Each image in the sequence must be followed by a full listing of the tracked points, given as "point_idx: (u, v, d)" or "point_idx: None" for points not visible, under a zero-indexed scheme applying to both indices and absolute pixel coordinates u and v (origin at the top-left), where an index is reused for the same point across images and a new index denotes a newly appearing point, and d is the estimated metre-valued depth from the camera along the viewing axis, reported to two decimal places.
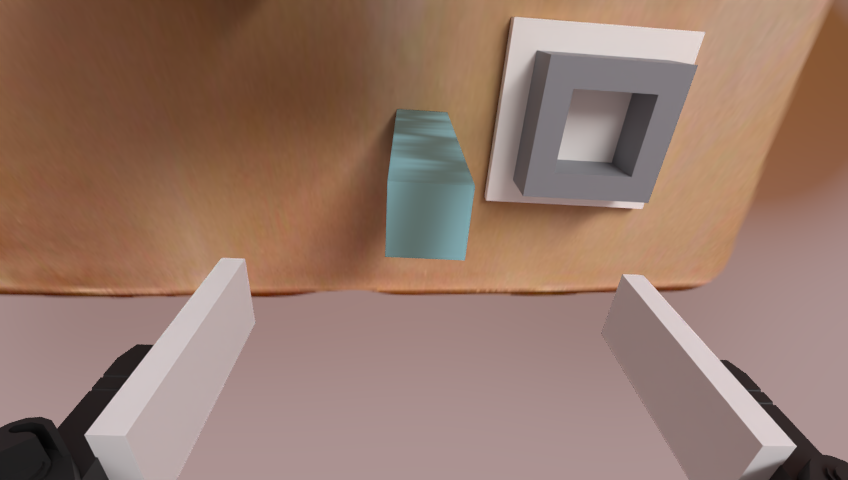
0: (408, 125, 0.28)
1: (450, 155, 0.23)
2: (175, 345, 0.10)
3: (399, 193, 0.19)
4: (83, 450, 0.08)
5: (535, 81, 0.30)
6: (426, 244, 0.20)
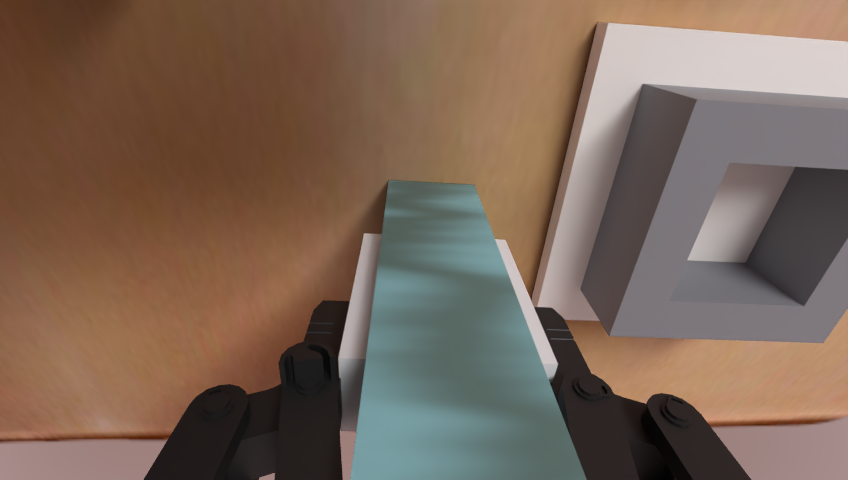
0: (408, 233, 0.15)
1: (513, 372, 0.09)
2: (367, 298, 0.12)
3: None
4: None
5: (641, 140, 0.16)
6: None
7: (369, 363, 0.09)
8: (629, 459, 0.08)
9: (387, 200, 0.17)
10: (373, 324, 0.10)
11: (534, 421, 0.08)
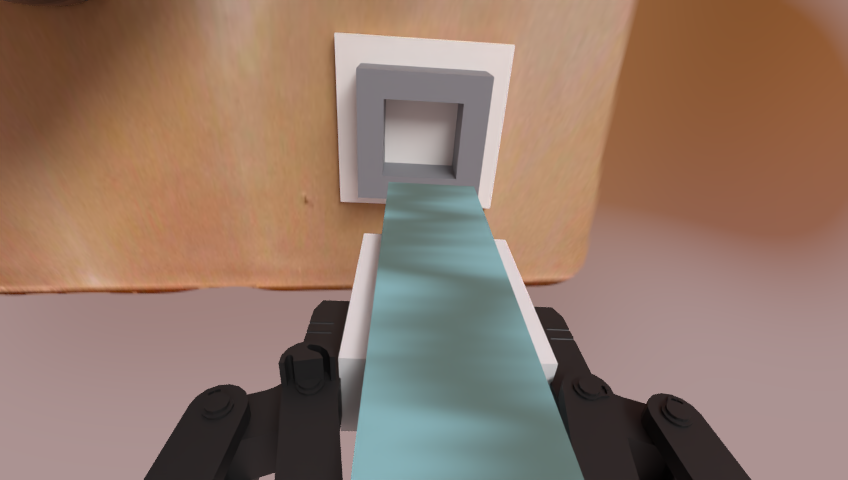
0: (408, 235, 0.15)
1: (513, 375, 0.09)
2: (367, 298, 0.12)
3: None
4: None
5: None
6: None
7: (369, 366, 0.09)
8: (629, 459, 0.08)
9: (387, 202, 0.17)
10: (373, 327, 0.10)
11: (533, 425, 0.08)
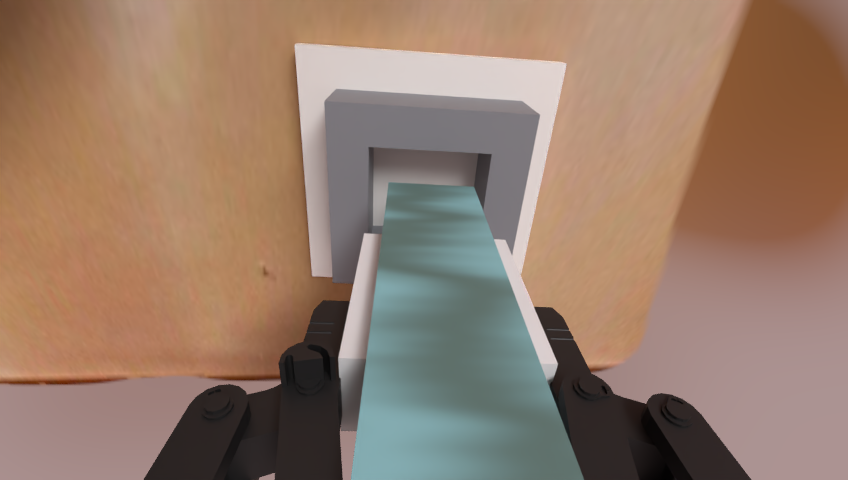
0: (408, 235, 0.15)
1: (513, 376, 0.09)
2: (367, 298, 0.12)
3: None
4: None
5: None
6: None
7: (369, 367, 0.09)
8: (629, 459, 0.08)
9: (387, 202, 0.17)
10: (373, 327, 0.10)
11: (533, 425, 0.08)
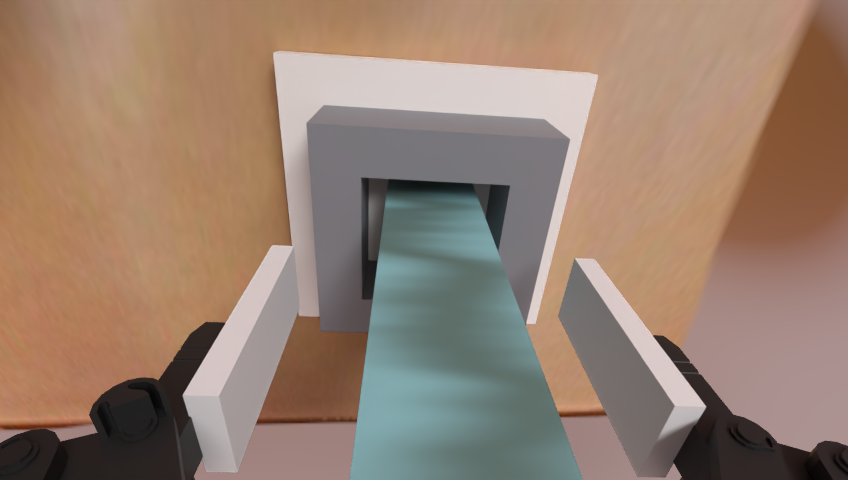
0: (407, 222, 0.15)
1: (503, 344, 0.10)
2: (246, 321, 0.11)
3: None
4: (177, 410, 0.09)
5: None
6: None
7: (371, 335, 0.10)
8: None
9: (387, 193, 0.18)
10: (375, 302, 0.11)
11: (520, 384, 0.09)
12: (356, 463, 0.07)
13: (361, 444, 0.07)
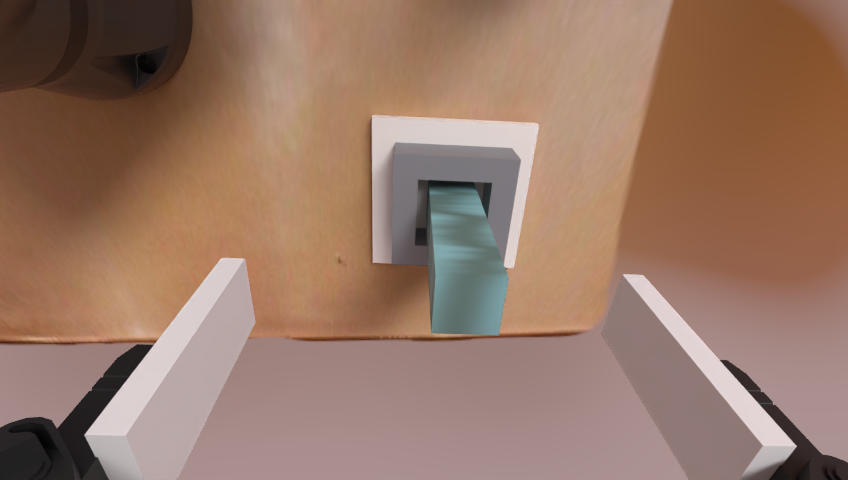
0: (441, 200, 0.32)
1: (483, 240, 0.26)
2: (175, 345, 0.10)
3: (445, 284, 0.23)
4: (83, 450, 0.08)
5: None
6: (466, 322, 0.24)
7: (434, 236, 0.26)
8: None
9: (429, 187, 0.34)
10: (433, 228, 0.27)
11: (488, 249, 0.25)
12: (436, 262, 0.24)
13: (436, 259, 0.24)
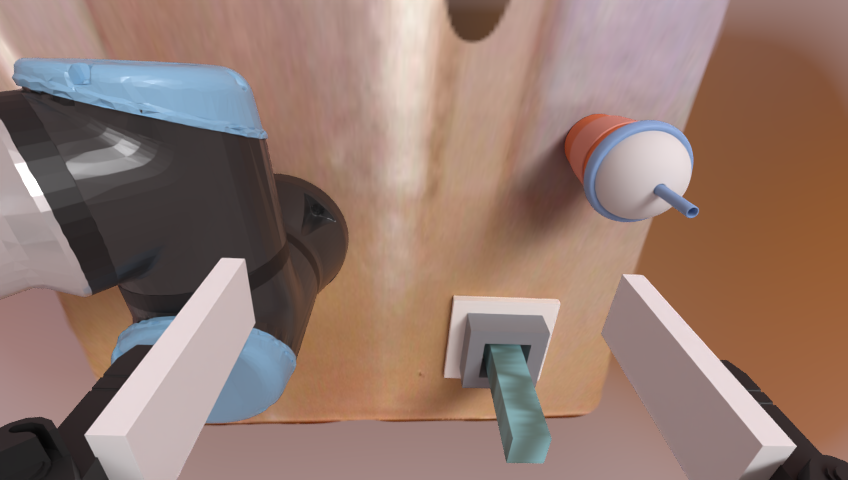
0: (501, 359, 0.51)
1: (533, 402, 0.46)
2: (175, 345, 0.10)
3: (517, 442, 0.42)
4: (83, 450, 0.08)
5: (467, 330, 0.54)
6: (526, 458, 0.43)
7: (504, 401, 0.46)
8: None
9: None
10: (502, 391, 0.47)
11: (537, 412, 0.45)
12: (510, 426, 0.43)
13: (510, 423, 0.43)
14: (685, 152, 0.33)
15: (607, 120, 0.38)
